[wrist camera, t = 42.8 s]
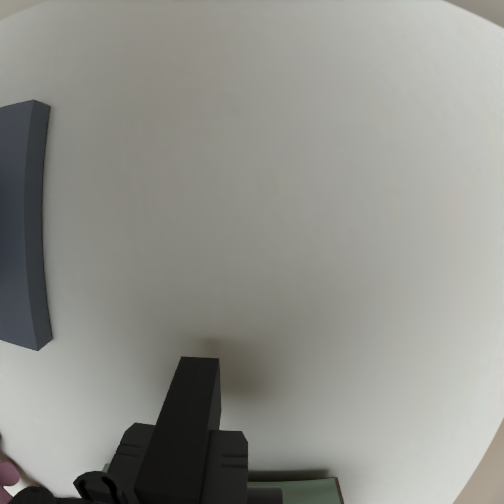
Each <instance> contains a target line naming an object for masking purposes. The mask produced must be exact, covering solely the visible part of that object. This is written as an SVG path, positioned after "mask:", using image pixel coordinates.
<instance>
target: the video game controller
mask: <svg viewBox="0 0 504 504" xmlns="http://www.w3.org/2000/svg"><path fill="white" fill-rule="evenodd" d="M18 481H19V473H18V470H17V468H16V467H15V466H14V465H13V464H12V463H10V462H8V461H1V462H0V504H7V503H8V502H9V501H10V500H11V499H12V498H13V496H11V495H10V494H9V493H8V492H7V491H6V490H5V489H4V487H3V486H13V485H15V484H16V483H17V482H18ZM31 486H35V485H30V486H28V487H31Z"/></svg>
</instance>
